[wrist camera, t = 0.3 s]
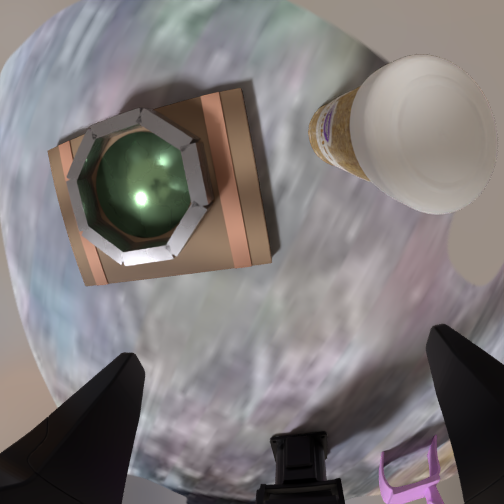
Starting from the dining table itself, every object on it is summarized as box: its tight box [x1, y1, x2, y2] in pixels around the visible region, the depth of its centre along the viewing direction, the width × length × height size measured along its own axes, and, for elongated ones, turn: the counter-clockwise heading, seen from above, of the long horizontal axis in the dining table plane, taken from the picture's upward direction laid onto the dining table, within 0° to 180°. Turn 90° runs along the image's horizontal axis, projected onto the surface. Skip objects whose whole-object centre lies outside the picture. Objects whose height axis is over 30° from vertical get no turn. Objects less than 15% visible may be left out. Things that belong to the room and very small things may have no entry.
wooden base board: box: [48, 88, 272, 286], centre depth 21 cm, size 12×16×1 cm
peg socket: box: [66, 108, 214, 266], centre depth 19 cm, size 10×10×2 cm
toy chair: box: [379, 435, 444, 504], centre depth 24 cm, size 8×9×15 cm
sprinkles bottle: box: [308, 54, 498, 214], centre depth 12 cm, size 5×5×14 cm
